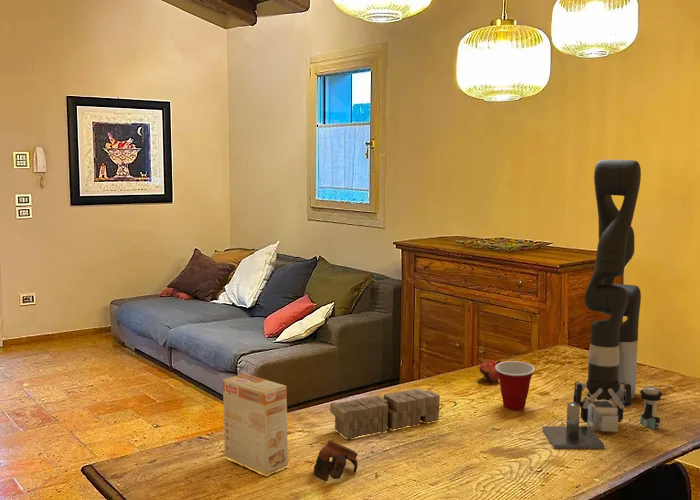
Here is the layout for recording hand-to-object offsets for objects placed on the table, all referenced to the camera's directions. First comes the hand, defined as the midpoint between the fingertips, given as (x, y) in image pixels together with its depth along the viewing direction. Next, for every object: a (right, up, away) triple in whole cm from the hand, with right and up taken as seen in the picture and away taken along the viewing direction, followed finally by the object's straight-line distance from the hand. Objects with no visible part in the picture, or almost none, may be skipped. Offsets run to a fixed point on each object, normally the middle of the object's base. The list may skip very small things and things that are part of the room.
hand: (601, 421), depth 188 cm
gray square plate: (-10, -2, -8) cm, 14 cm away
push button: (+13, -2, 0) cm, 13 cm away
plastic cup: (-20, 0, +15) cm, 24 cm away
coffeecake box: (-88, -5, -22) cm, 91 cm away
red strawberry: (-22, +3, +39) cm, 44 cm away
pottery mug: (-69, -6, -28) cm, 75 cm away
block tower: (-57, -2, +1) cm, 57 cm away
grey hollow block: (0, -2, -2) cm, 2 cm away
